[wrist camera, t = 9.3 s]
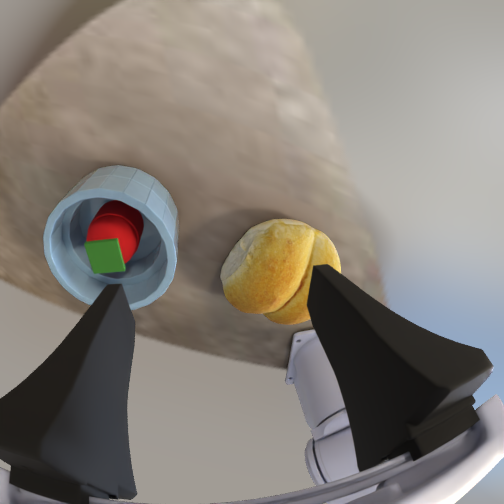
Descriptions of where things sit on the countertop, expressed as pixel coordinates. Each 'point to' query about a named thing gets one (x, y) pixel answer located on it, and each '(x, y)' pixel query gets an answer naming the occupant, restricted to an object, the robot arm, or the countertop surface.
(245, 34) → the countertop surface
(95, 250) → the strawberry
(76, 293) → the bowl
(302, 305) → the bread roll
